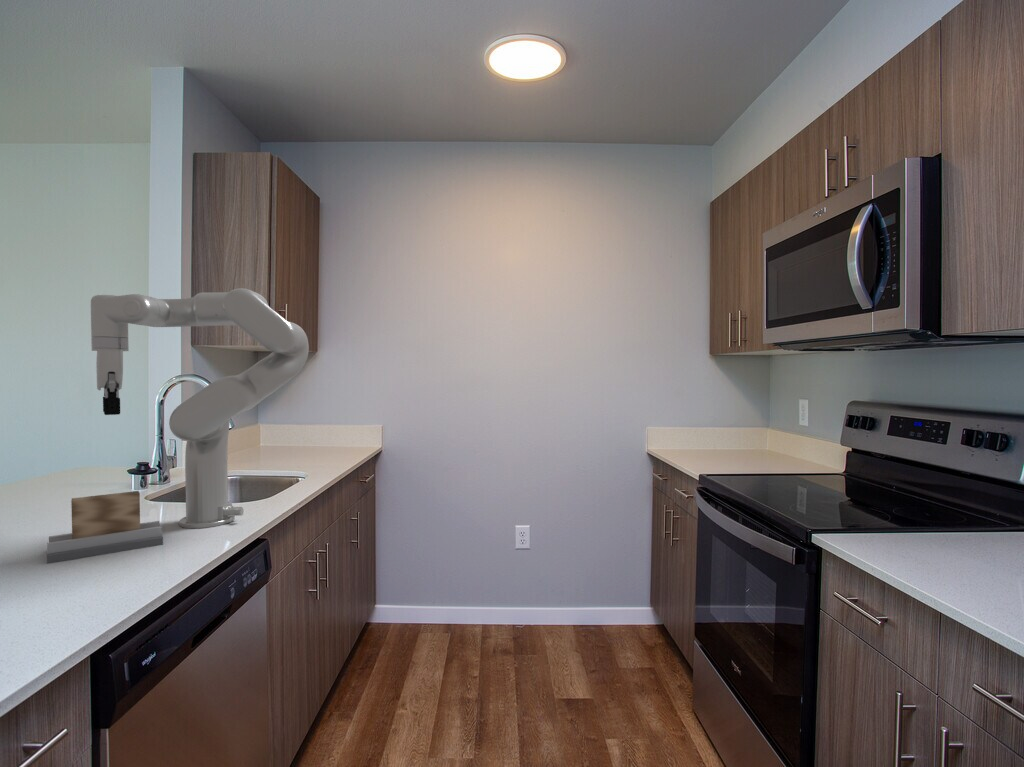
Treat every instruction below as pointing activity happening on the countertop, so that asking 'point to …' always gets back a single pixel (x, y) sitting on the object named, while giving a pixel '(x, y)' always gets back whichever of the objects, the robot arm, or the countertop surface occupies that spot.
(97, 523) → the door panel
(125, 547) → the bottom track
